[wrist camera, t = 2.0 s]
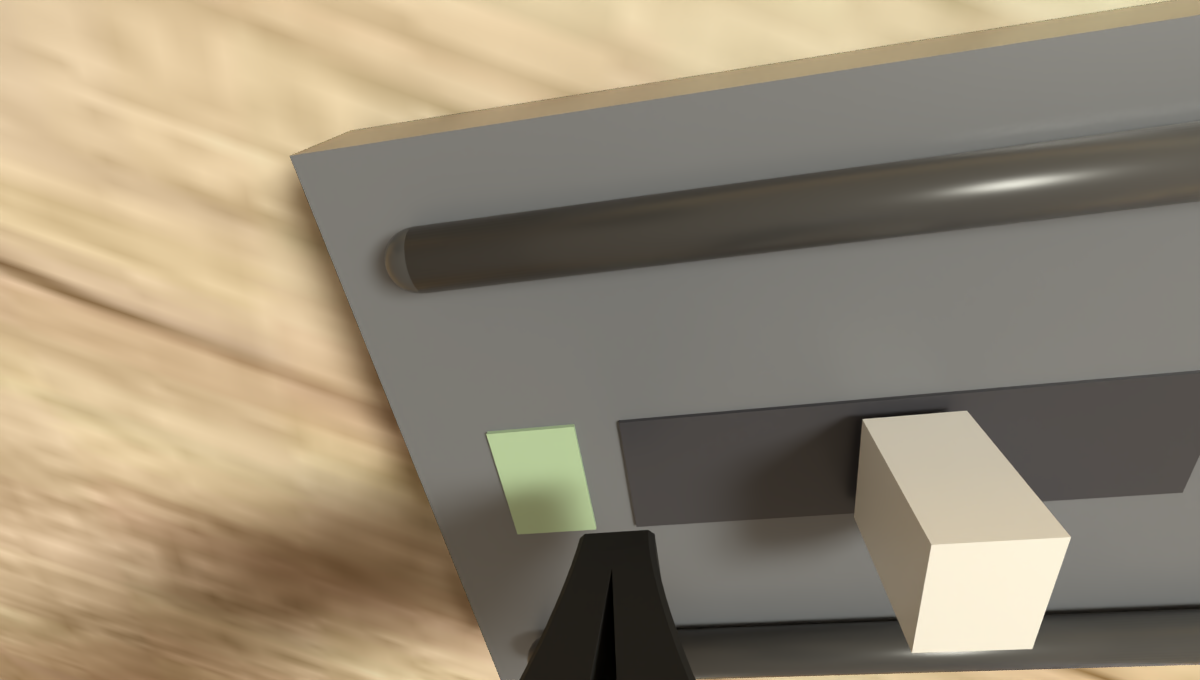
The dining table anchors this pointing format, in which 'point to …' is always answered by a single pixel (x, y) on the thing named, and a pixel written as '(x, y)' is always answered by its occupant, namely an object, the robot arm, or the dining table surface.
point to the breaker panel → (800, 329)
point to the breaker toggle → (955, 534)
